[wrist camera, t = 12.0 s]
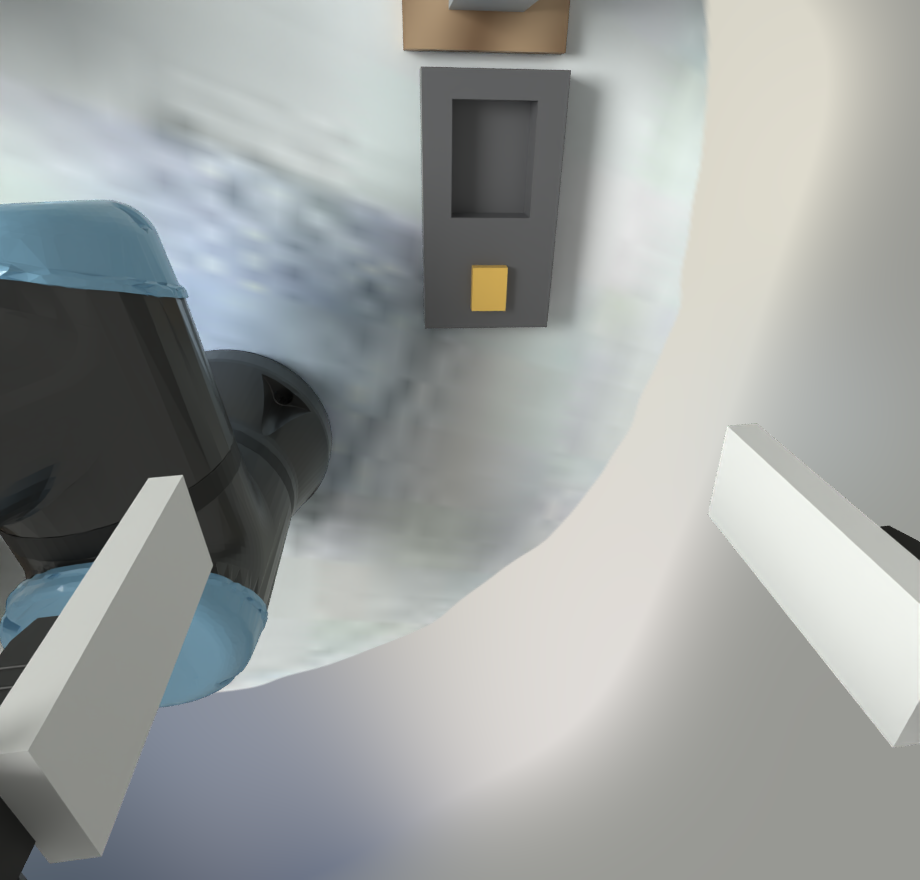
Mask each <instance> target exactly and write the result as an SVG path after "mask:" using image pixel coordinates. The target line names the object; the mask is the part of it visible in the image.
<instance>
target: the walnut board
mask: <svg viewBox="0 0 920 880" xmlns="http://www.w3.org/2000/svg"><path fill="white" fill-rule="evenodd" d="M569 7H570V0H538V1H537V2H536V3H534V4H533V5H532V6H531V7H529V8H528V9H527V10H526V11H524V12H506V11H476V10H449V0H402V13H403V50H412V51H449V52H486V53H523V54H560V55H561V54H564V53H565V52H566V40H567V29H568V18H569Z"/></svg>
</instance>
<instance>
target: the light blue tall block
mask: <svg viewBox="0 0 920 880" xmlns="http://www.w3.org/2000/svg"><path fill="white" fill-rule="evenodd" d="M537 1H538V0H449V10H476V11H506V12H524V11H526V10H527V9H528V8H529V7H531V6H532V5H533V4H534V3H536V2H537Z"/></svg>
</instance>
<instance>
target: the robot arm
mask: <svg viewBox="0 0 920 880" xmlns="http://www.w3.org/2000/svg"><path fill="white" fill-rule="evenodd" d="M186 298H188V294H187V291H186V290H185V289H184V287H182V286H181V285H179V283H178V281H177V278H176V276H175V274H174V271H173V269H172V266H171V264H170V262H169V259H168V257H167V255H166V252H165V250H164V247H163V245H162V243H161V240H160V238H159V236H158V233H157V231H156V229H155V228H154V226H153V225H152V223H151V222H150V221H149V220H148V219H147V218H146V217H145V216H144V215H143V214H142V213H141V212H139V211H138V210H136V209H135V208H133V207H131V206H129V205H127V204H124V203H121V202H118V201H113V200H77V201H54V202H31V203H11V204H0V534H1V536H2V537H3V539H4V540H5V542H6V543H7V545H8V546H9V548H10V549H11V551H12V553H13V554H14V555H15V557H16V558H17V560H18V561H19V563H20V564H21V566H22V567H23V569H24V571H25V575H26V580H24V581H23V582H22V583H20V584H19V585H18V586H17V588H16V589H15V590H14V591H13V592H11V593H10V595H9V596H8V598H7V600H6V612H5V614H4V616H3V618H2V619H1V622H0V640H1V643H2V646H3V648H4V650H3V652H2V653H1V655H0V880H27V879H26V878H25V876H24V875H23V874H22V873H21V871H22V869H23V867H24V865H25V863H26V861H27V859H28V857H29V855H30V853H31V850H32V849H33V847H34V844H35V845H36V847H37V848H38V849H39V850H40V852H41V853H42V854H43V855H44V857H45V858H46V859H47V860H48V862H49V863H57V862H64V861H71V860H79V859H86V858H93V857H101V856H102V854H103V851H104V848H105V846H106V843H107V840H108V838H109V835H110V833H111V830H112V827H113V825H114V823H115V820H116V817H117V815H118V812H119V809H120V807H121V804H122V802H123V799H124V796H125V794H126V791H127V788H128V786H129V783H130V781H131V778H132V776H133V773H134V770H135V768H136V765H137V763H138V760H139V757H140V755H141V752H142V749H143V747H144V744H145V742H146V739H147V736H148V734H149V731H150V728H151V726H152V723H153V721H154V718H155V716H156V713H157V710H158V708H160V707H168V706H174V705H180V704H184V703H189V702H192V701H196V700H198V699H201V698H204V697H207V696H209V695H211V694H213V693H215V692H217V691H219V690H220V689H222V688H223V687H225V686H226V685H228V684H229V683H230V682H231V681H232V680H233V679H234V678H235V676H237V675H238V674H239V673H240V672H242V671H243V670H244V668H245V667H246V665H247V664H248V662H249V660H250V658H251V656H252V654H253V651H254V649H255V646H256V644H257V642H258V639H259V637H260V635H261V632H262V631H263V629H264V628H265V624H266V622H267V619H268V618H267V616H268V612H267V609H268V605H269V602H270V598H271V594H272V590H273V586H274V582H275V578H276V575H277V571H278V567H279V563H280V559H281V555H282V552H283V548H284V544H285V540H286V536H287V532H288V529H289V524H290V520H291V517H292V516H293V515H294V514H295V513H296V511H297V510H298V509H299V508H300V507H301V506H302V505H303V504H304V503H305V502H306V501H307V500H308V499H309V498H310V497H311V496H312V495H313V494H314V493H315V491H316V490H317V489H318V487H319V485H320V484H321V482H322V480H323V478H324V475H325V473H326V470H327V467H328V462H329V457H330V453H331V446H332V434H331V427H330V423H329V419H328V416H327V414H326V411H325V409H324V407H323V405H322V403H321V402H320V400H319V398H318V397H317V396H316V394H315V393H314V392H313V390H312V389H311V388H310V387H309V386H308V385H307V384H306V383H305V382H304V381H303V380H302V379H301V378H300V377H299V376H297V375H296V374H295V373H293V372H292V371H291V370H289V369H288V368H286V367H284V366H283V365H281V364H279V363H277V362H275V361H273V360H271V359H268V358H266V357H263V356H260V355H257V354H253V353H249V352H244V351H237V350H212V351H204V349H203V346H202V343H201V340H200V337H199V335H198V332H197V329H196V326H195V323H194V321H193V318H192V315H191V312H190V309H189V307H188V304H187V301H186ZM708 516H709V517H710V518H711V519H712V521H713V522H714V523H715V524H716V526H717V527H718V528H719V530H720V531H721V532H722V533H723V535H724V536H725V537H726V538H727V540H728V541H729V542H730V543H731V545H732V546H733V547H734V548H735V550H736V551H737V552H738V553H739V555H740V556H741V557H742V558H743V560H744V561H745V562H746V563H747V565H748V566H749V567H750V569H751V570H752V571H753V572H754V573H755V575H756V576H757V577H758V578H759V580H760V581H761V582H762V584H763V585H764V586H765V587H766V589H767V590H768V591H769V592H770V594H771V595H772V596H773V598H774V599H775V600H776V601H777V603H778V604H779V605H780V606H781V608H782V609H783V610H784V611H785V613H786V614H787V615H788V616H789V618H790V619H791V620H792V621H793V623H794V624H795V625H796V626H797V628H798V629H799V630H800V632H801V633H802V634H803V635H804V637H805V638H806V639H807V640H808V642H809V643H810V644H811V645H812V647H813V648H814V649H815V650H816V652H817V653H818V654H819V655H820V657H821V658H822V659H823V660H824V661H825V663H826V664H827V666H828V667H829V668H830V669H831V671H832V672H833V673H834V674H835V675H836V677H837V678H838V679H839V681H840V682H841V683H842V684H843V686H844V687H845V688H846V689H847V691H848V692H849V693H850V694H851V696H852V697H853V698H854V699H855V701H856V702H857V703H858V705H859V706H860V707H861V708H862V710H863V711H864V712H865V713H866V715H867V716H868V717H869V718H870V719H871V721H872V722H873V723H874V725H875V726H876V727H877V728H878V730H879V731H880V732H881V733H882V735H883V736H884V737H885V739H886V740H887V741H888V742H889V743H890V745H891V746H892V747H893V748H894V747H902V746H909V745H916V744H920V542H919V541H918V540H916V539H914V538H912V537H910V536H908V535H906V534H904V533H902V532H900V531H898V530H896V529H894V528H892V527H891V526H881V527H879V526H878V525H877V524H876V523H874V522H873V521H872V520H871V519H870V518H868V517H867V516H866V515H865V514H864V513H862V512H861V511H860V510H859V509H858V508H857V507H855V506H854V505H853V504H852V503H851V502H850V501H848V500H847V499H846V498H845V497H843V496H842V495H841V494H840V493H839V492H837V491H836V490H835V489H834V488H833V487H832V486H831V485H829V484H828V483H827V482H826V481H825V480H823V479H822V478H821V477H820V476H819V475H817V474H816V473H815V472H814V471H813V470H812V469H810V468H809V467H808V466H807V465H806V464H805V463H803V462H802V461H801V460H800V459H799V458H797V457H796V456H795V455H794V454H793V453H791V452H790V451H789V450H788V449H787V448H786V447H784V446H783V445H782V444H781V443H780V442H778V441H777V440H776V439H775V438H774V437H773V436H771V435H770V434H769V433H768V432H767V431H765V430H764V429H763V428H762V427H761V426H759V425H758V424H757V423H754V424H742V425H731V426H727V429H726V434H725V439H724V443H723V448H722V452H721V457H720V461H719V466H718V470H717V475H716V479H715V484H714V488H713V493H712V498H711V503H710V507H709V511H708Z"/></svg>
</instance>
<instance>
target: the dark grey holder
mask: <svg viewBox="0 0 920 880" xmlns="http://www.w3.org/2000/svg"><path fill="white" fill-rule="evenodd" d="M570 75H571V70H535V69H494V68H454V67H421V68H420V110H421V174H422V237H423V301H424V323H425V328H497V327H547V318H548V308H549V297H550V287H551V276H552V265H553V255H554V244H555V234H556V223H557V213H558V202H559V191H560V181H561V170H562V160H563V149H564V138H565V128H566V117H567V107H568V96H569V85H570Z"/></svg>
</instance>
